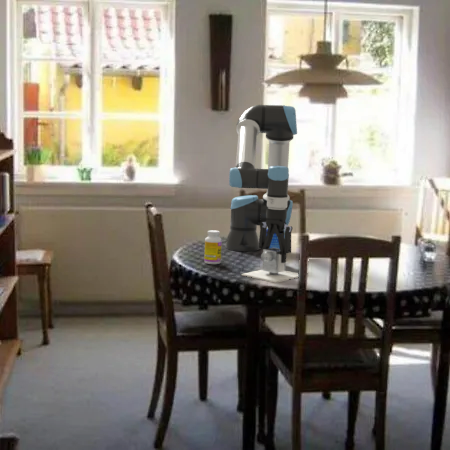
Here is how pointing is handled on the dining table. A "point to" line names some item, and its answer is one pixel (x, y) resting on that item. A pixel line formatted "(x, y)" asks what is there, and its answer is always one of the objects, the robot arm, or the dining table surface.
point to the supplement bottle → (213, 248)
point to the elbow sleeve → (271, 259)
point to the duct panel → (272, 275)
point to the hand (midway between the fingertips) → (273, 269)
